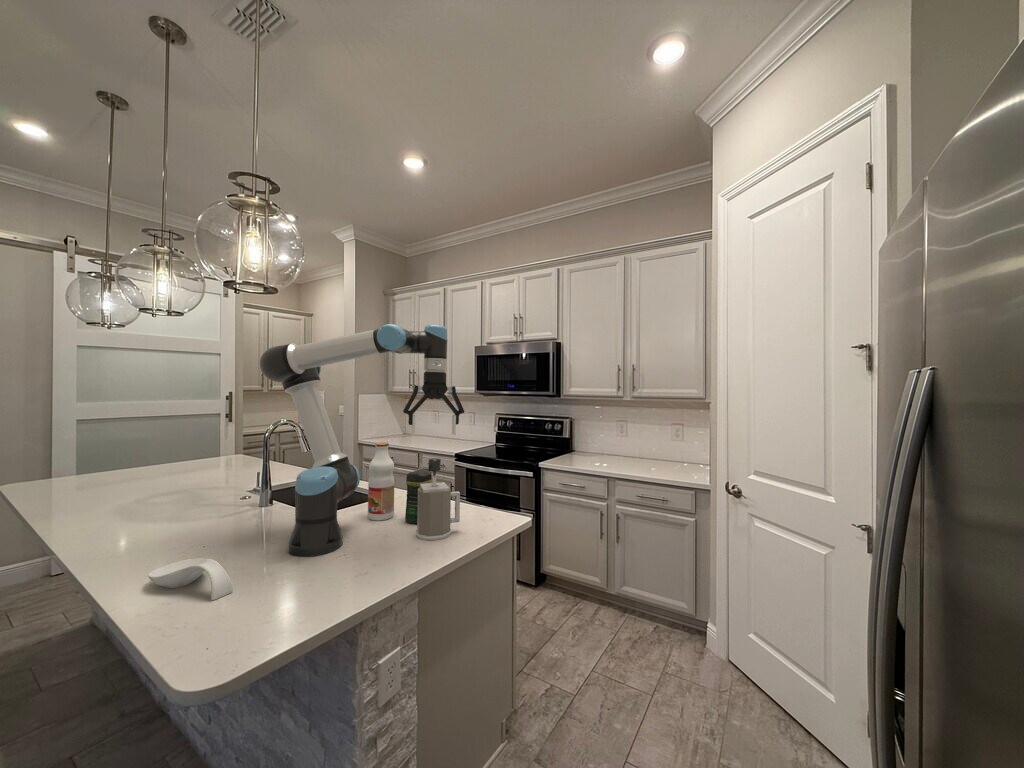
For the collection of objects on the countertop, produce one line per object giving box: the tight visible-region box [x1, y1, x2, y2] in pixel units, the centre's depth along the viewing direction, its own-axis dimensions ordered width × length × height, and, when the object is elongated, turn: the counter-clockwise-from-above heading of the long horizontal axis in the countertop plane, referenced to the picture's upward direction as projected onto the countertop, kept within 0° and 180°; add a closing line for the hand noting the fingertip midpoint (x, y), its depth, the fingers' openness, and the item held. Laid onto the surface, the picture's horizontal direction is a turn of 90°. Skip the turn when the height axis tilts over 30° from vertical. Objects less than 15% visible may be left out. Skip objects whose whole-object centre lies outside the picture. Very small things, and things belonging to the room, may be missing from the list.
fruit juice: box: [367, 441, 395, 521], centre depth 158 cm, size 9×9×28 cm
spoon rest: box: [147, 557, 234, 601], centre depth 103 cm, size 24×12×7 cm, turn 67°
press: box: [415, 481, 461, 541], centre depth 141 cm, size 14×12×16 cm
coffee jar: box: [404, 468, 433, 524], centre depth 154 cm, size 10×8×19 cm
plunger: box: [427, 457, 442, 487], centre depth 140 cm, size 8×8×20 cm
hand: (433, 434), depth 140 cm, fingers open, 13 cm apart
